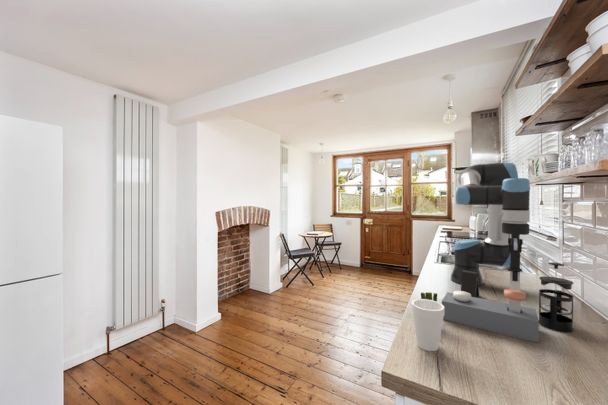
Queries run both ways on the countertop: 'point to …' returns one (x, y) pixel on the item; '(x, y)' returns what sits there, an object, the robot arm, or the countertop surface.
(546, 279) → the french press
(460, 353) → the countertop surface
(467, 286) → the phone stand
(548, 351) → the countertop surface
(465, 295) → the white rounded knob
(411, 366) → the countertop surface
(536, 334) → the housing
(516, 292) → the orange ball knob
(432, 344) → the foam cup
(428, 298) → the fennel bulb
